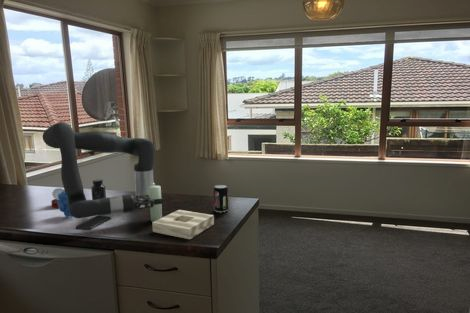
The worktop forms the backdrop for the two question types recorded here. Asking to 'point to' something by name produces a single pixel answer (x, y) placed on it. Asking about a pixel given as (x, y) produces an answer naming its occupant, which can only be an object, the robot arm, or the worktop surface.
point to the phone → (93, 222)
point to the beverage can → (220, 198)
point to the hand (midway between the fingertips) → (161, 199)
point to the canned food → (56, 197)
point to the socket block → (183, 224)
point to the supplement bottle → (98, 189)
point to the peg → (157, 209)
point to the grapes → (64, 204)
